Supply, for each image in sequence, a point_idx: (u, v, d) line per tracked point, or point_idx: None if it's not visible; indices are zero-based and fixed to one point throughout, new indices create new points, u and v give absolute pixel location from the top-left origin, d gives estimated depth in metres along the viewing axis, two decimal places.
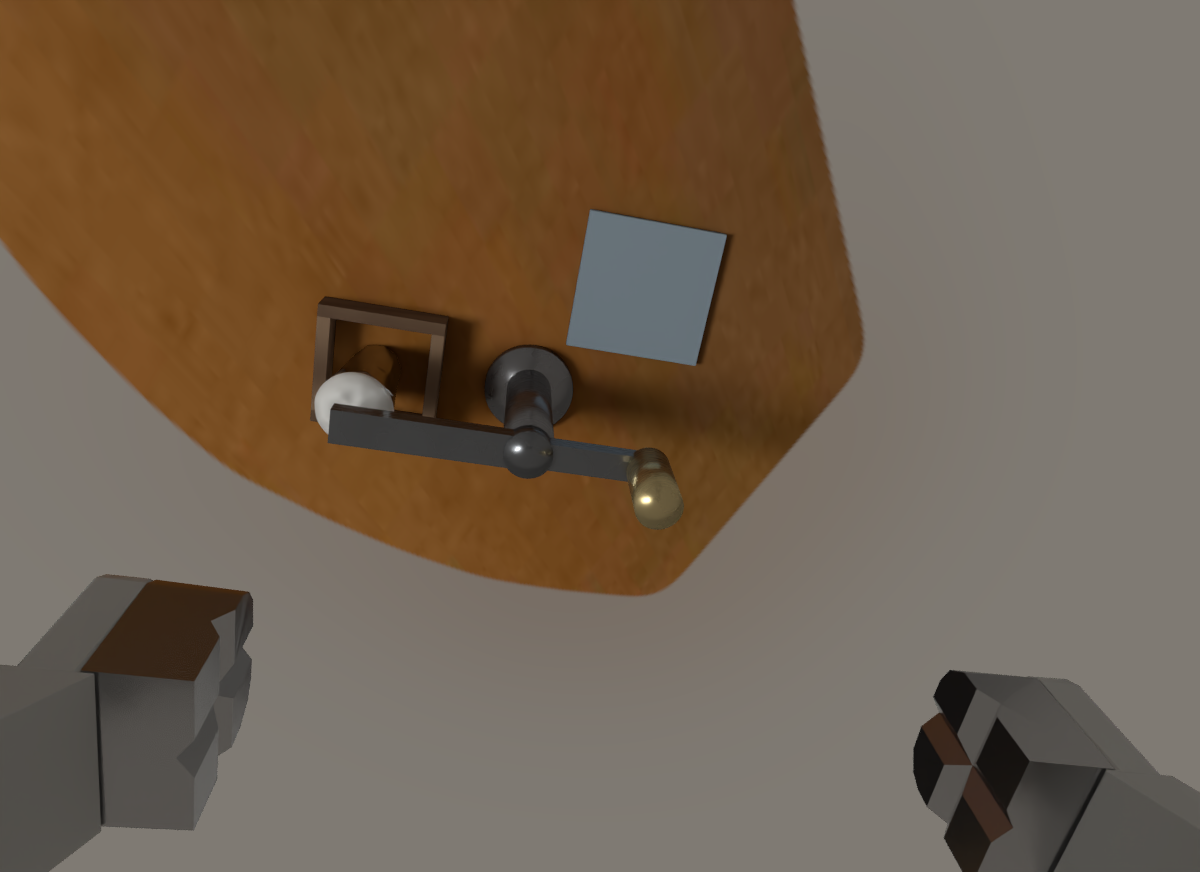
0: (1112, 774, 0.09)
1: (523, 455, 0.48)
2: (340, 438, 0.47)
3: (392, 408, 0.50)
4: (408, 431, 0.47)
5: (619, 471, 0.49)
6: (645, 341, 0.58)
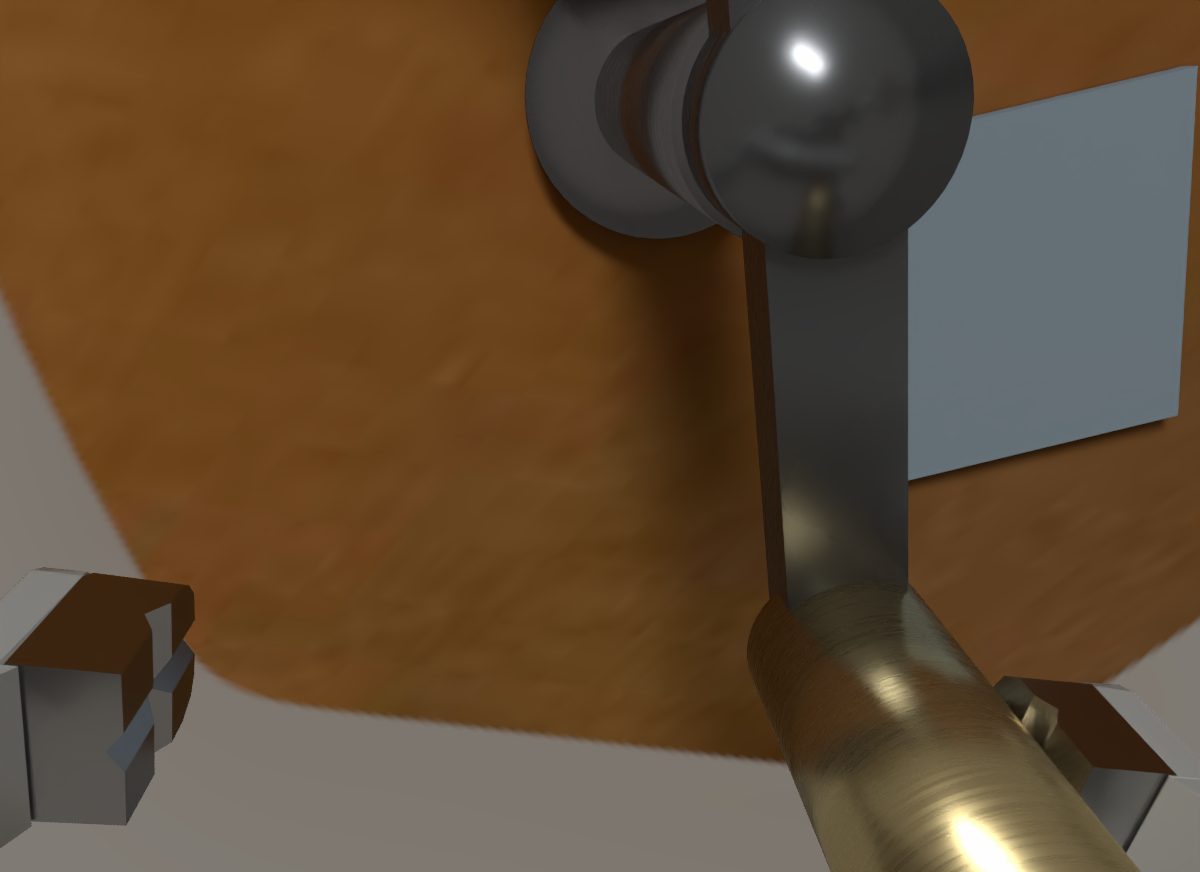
0: (1174, 780, 0.09)
1: (838, 91, 0.09)
2: None
3: None
4: None
5: (829, 564, 0.11)
6: None
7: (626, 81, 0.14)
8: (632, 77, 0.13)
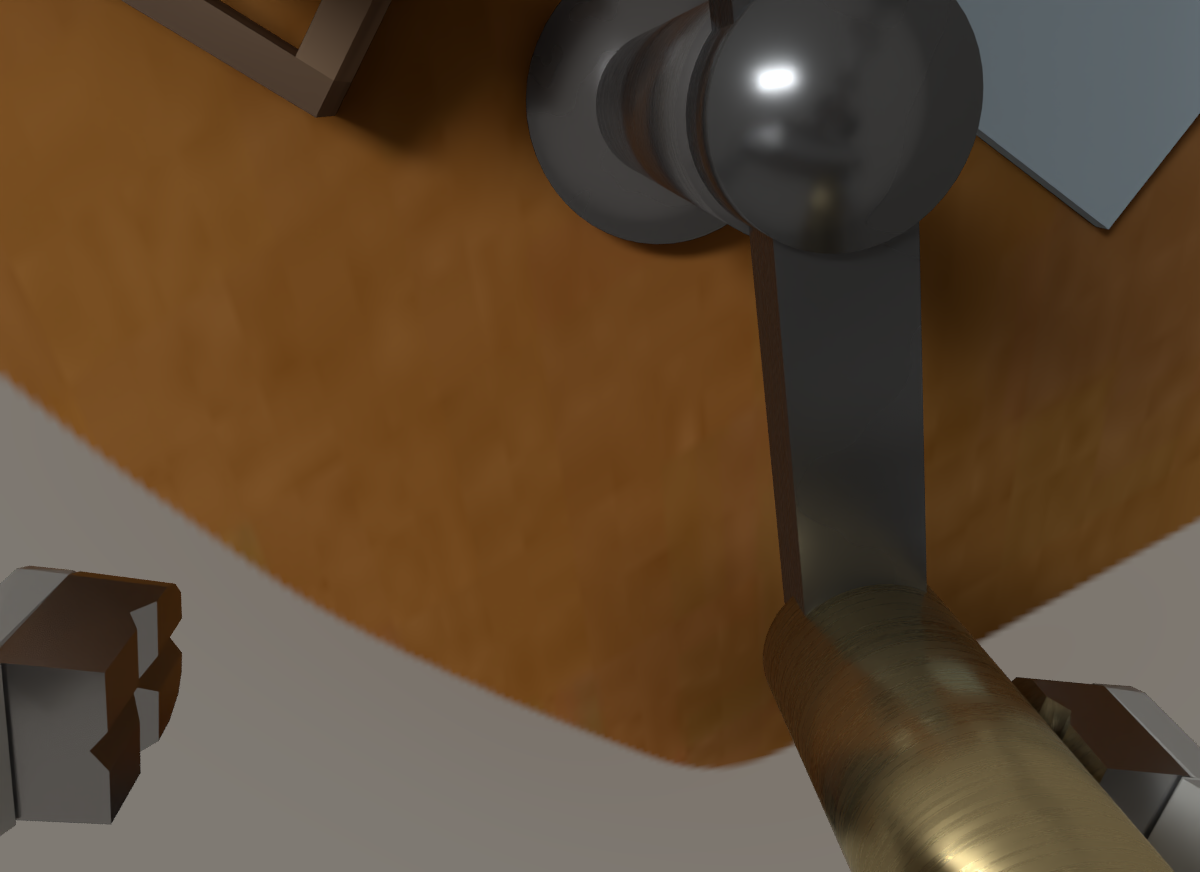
0: (1188, 781, 0.09)
1: (845, 83, 0.08)
2: None
3: None
4: None
5: (845, 566, 0.11)
6: (1029, 101, 0.20)
7: (637, 157, 0.14)
8: (641, 156, 0.14)
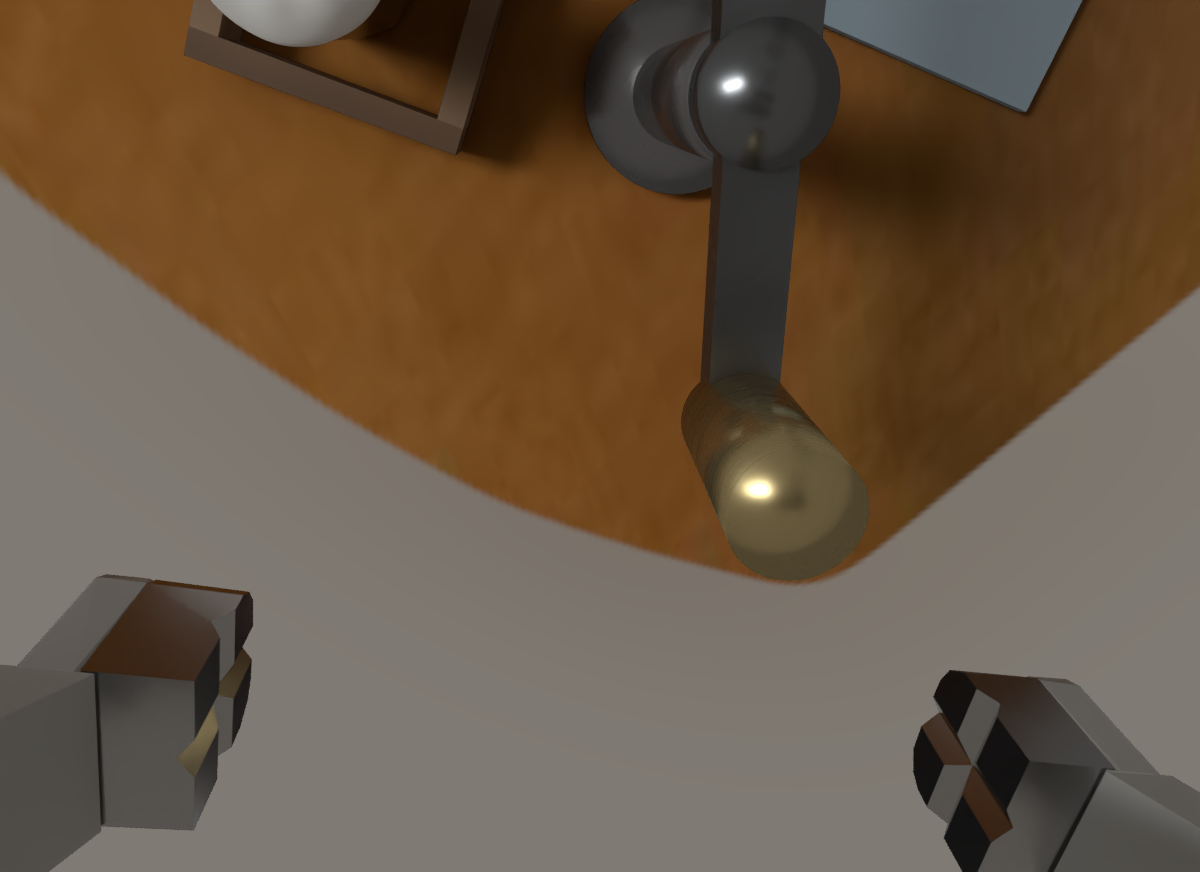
0: (1112, 774, 0.09)
1: (770, 80, 0.17)
2: None
3: None
4: None
5: (736, 357, 0.19)
6: (943, 33, 0.27)
7: (668, 137, 0.22)
8: (670, 136, 0.22)
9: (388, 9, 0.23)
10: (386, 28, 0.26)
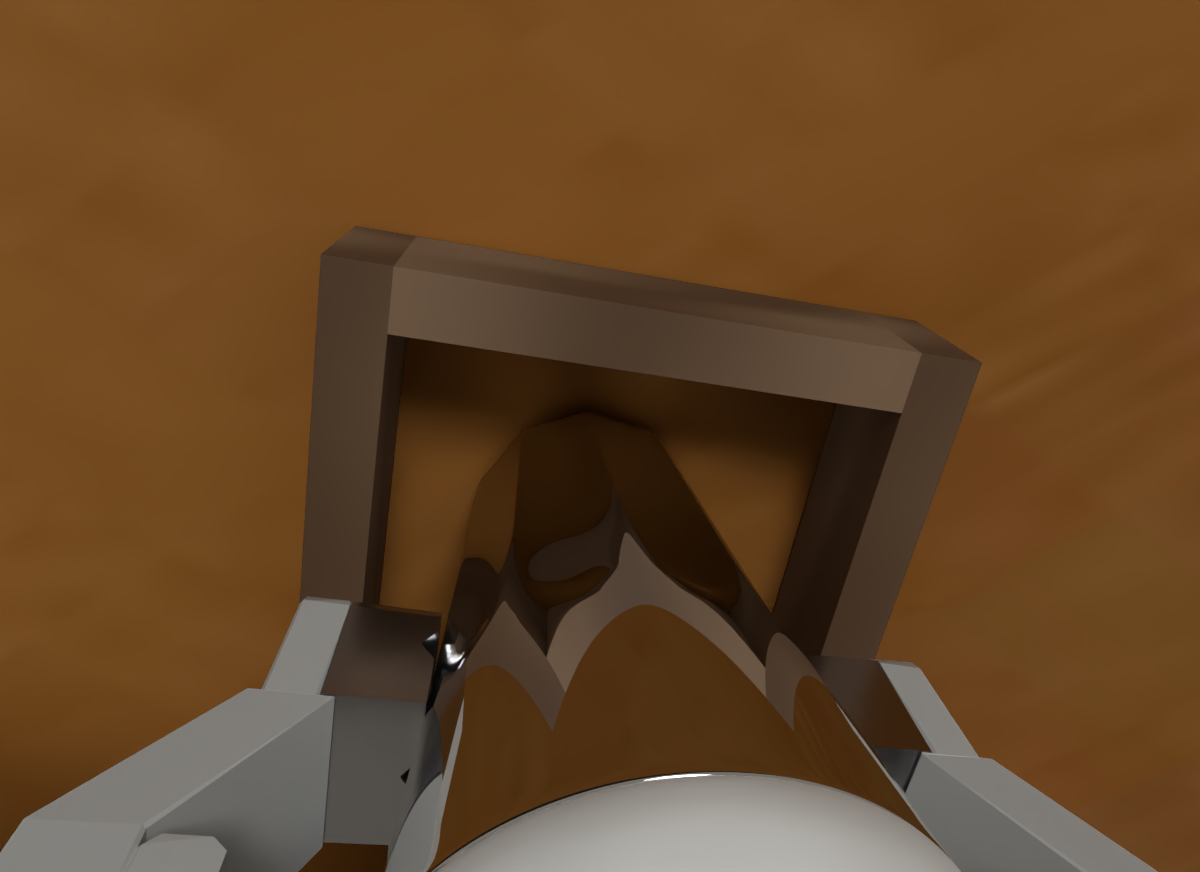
0: (928, 757, 0.08)
1: None
2: None
3: None
4: None
5: None
6: None
7: None
8: None
9: None
10: None
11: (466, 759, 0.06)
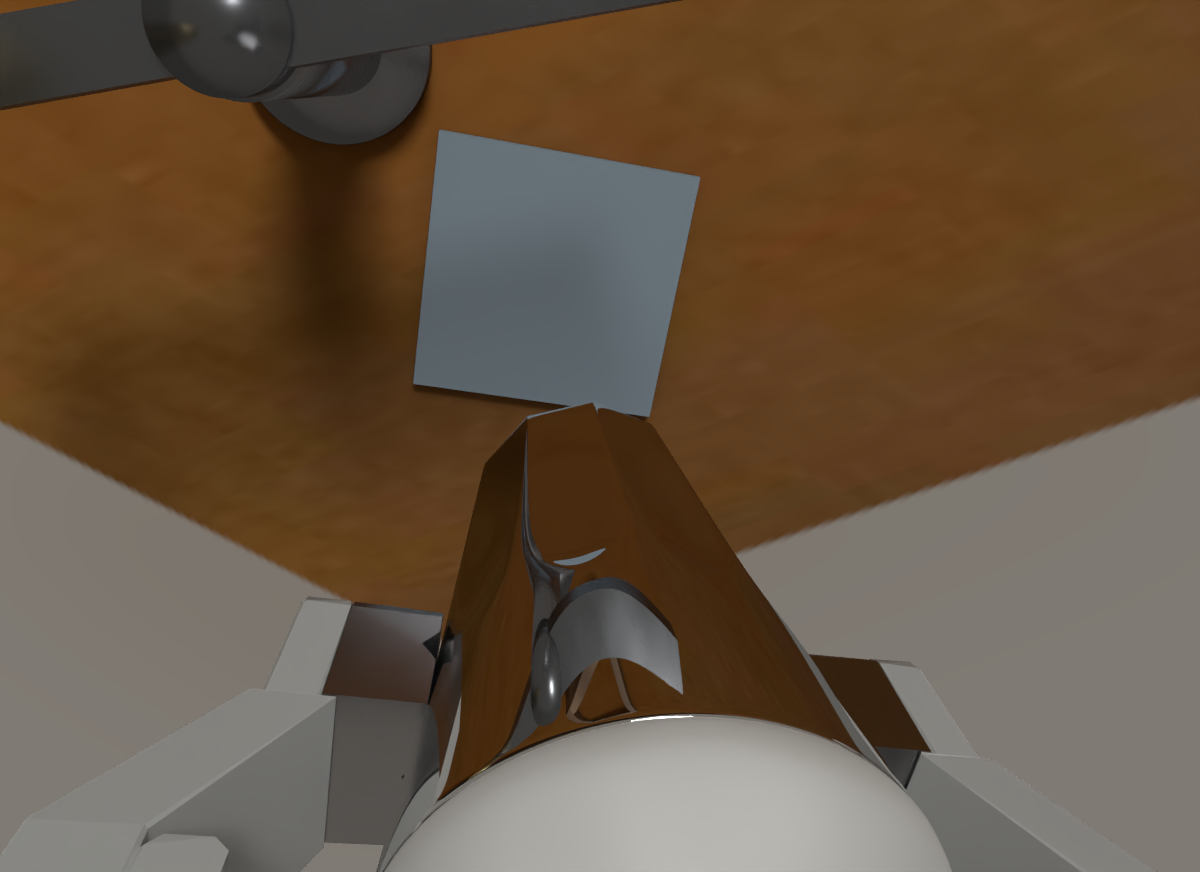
0: (927, 757, 0.08)
1: (230, 19, 0.17)
2: None
3: None
4: None
5: None
6: (454, 289, 0.31)
7: None
8: None
9: None
10: None
11: (480, 702, 0.07)
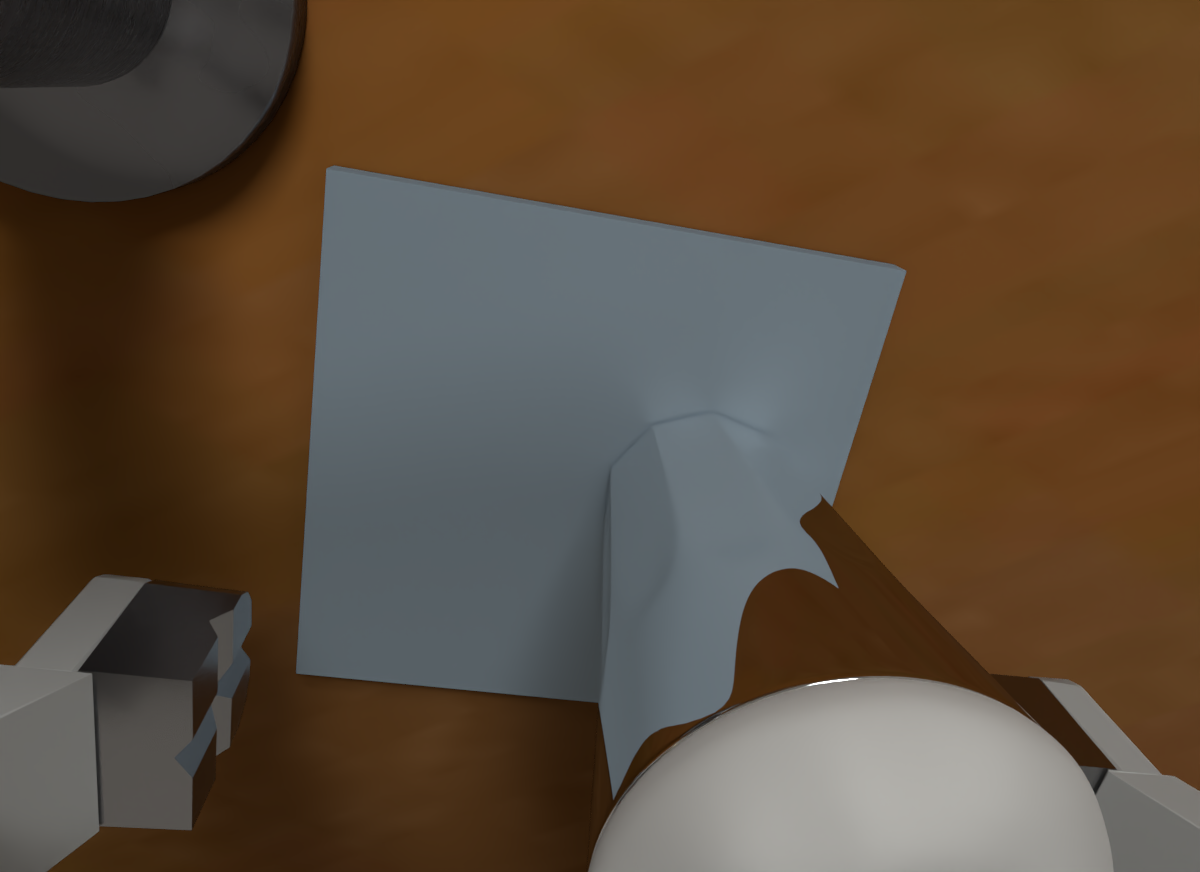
0: (1114, 774, 0.09)
1: None
2: None
3: None
4: None
5: None
6: (373, 499, 0.14)
7: None
8: None
9: None
10: None
11: (687, 666, 0.08)
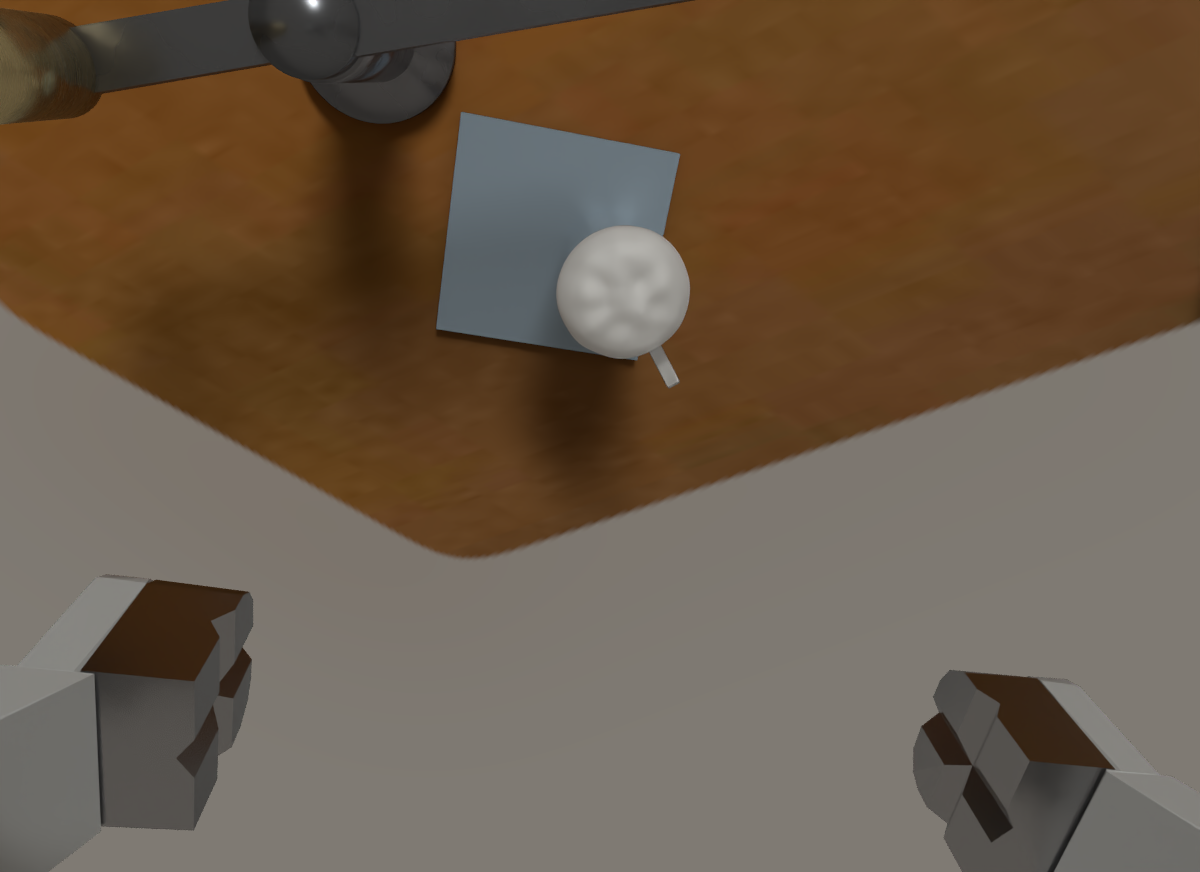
0: (1112, 774, 0.09)
1: (313, 20, 0.22)
2: None
3: (621, 358, 0.30)
4: None
5: (101, 46, 0.23)
6: (472, 248, 0.36)
7: None
8: None
9: None
10: None
11: (583, 236, 0.29)
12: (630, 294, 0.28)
